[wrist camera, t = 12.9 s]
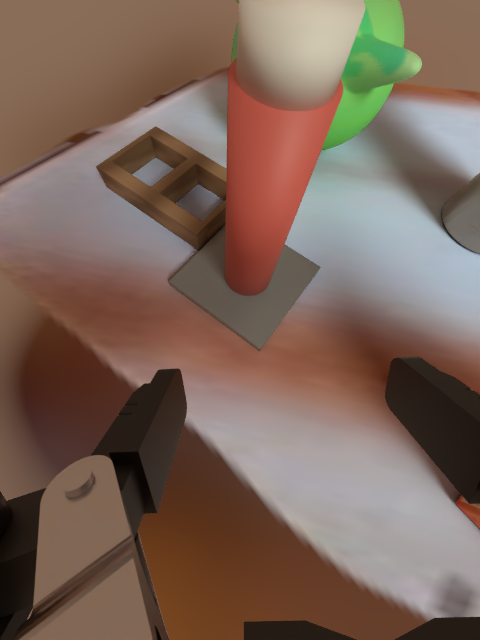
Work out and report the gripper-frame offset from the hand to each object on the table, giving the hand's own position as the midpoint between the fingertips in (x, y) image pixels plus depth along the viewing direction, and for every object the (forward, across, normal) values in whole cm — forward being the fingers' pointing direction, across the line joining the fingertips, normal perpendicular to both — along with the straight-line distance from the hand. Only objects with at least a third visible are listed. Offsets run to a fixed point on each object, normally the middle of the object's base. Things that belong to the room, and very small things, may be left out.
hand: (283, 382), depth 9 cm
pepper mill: (+16, +1, -1) cm, 16 cm away
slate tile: (+16, +1, -1) cm, 17 cm away
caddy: (+23, +8, -10) cm, 27 cm away
